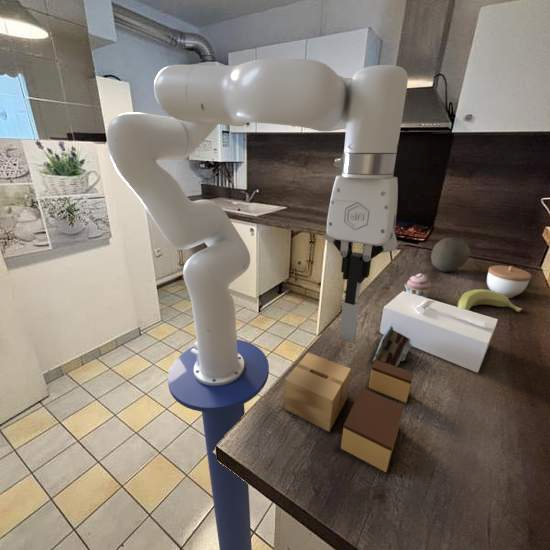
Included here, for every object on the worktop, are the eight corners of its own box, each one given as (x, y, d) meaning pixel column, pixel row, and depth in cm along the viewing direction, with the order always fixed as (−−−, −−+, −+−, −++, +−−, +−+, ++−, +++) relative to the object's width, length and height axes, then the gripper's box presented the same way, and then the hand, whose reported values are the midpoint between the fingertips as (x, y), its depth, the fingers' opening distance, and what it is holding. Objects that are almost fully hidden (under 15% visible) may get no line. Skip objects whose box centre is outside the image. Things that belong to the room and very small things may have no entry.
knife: (336, 341, 56) (346, 254, 49) (341, 335, 57) (350, 251, 51) (352, 346, 54) (364, 257, 48) (355, 340, 56) (367, 254, 49)
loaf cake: (340, 448, 52) (343, 424, 50) (358, 410, 60) (361, 388, 58) (386, 472, 49) (391, 448, 46) (398, 428, 56) (404, 405, 54)
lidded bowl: (474, 288, 114) (482, 262, 110) (498, 284, 117) (507, 259, 113) (505, 303, 103) (516, 274, 99) (531, 298, 106) (542, 271, 102)
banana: (457, 280, 104) (521, 293, 99) (451, 291, 107) (512, 305, 103) (464, 305, 93) (535, 322, 89) (456, 317, 97) (524, 334, 93)
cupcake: (397, 297, 107) (402, 272, 103) (410, 290, 113) (415, 266, 109) (422, 307, 101) (428, 280, 97) (434, 299, 106) (441, 273, 102)
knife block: (284, 409, 60) (285, 379, 57) (306, 379, 68) (307, 352, 65) (329, 432, 56) (332, 400, 52) (347, 397, 63) (351, 368, 60)
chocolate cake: (400, 377, 70) (422, 333, 72) (373, 361, 72) (394, 319, 74) (393, 377, 78) (412, 338, 81) (368, 362, 81) (388, 325, 83)
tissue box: (398, 314, 96) (404, 284, 92) (488, 346, 80) (500, 311, 76) (379, 332, 86) (384, 300, 82) (477, 372, 71) (491, 335, 66)
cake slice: (368, 387, 66) (372, 366, 64) (372, 379, 68) (375, 359, 66) (406, 403, 62) (411, 381, 60) (408, 394, 64) (413, 372, 62)
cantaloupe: (449, 278, 122) (458, 244, 117) (421, 267, 134) (428, 236, 128) (471, 273, 128) (480, 240, 122) (442, 263, 140) (449, 232, 134)
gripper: (309, 166, 45) (304, 275, 52) (421, 169, 37) (397, 298, 44) (328, 164, 51) (321, 263, 58) (429, 167, 43) (406, 281, 50)
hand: (354, 277), depth 51 cm, fingers closed on knife, 1 cm apart
